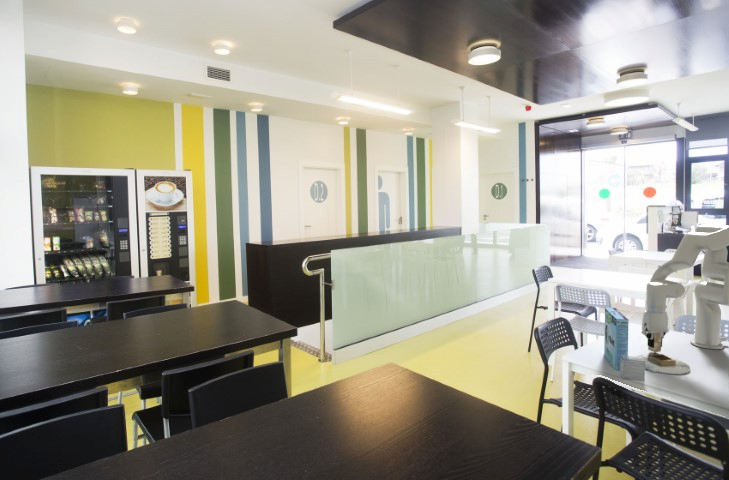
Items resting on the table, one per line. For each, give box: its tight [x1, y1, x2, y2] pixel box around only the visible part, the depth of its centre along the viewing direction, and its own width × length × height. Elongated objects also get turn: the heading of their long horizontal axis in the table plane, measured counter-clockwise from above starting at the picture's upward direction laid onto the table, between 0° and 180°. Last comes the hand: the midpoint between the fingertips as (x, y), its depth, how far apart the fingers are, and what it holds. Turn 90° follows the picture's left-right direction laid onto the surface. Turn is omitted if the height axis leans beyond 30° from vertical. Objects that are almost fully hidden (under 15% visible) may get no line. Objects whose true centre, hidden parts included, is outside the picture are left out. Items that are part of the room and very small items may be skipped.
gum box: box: [603, 307, 629, 371], centre depth 186 cm, size 20×5×23 cm, turn 162°
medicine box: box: [619, 355, 646, 382], centre depth 171 cm, size 8×4×9 cm, turn 71°
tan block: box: [647, 332, 662, 353], centre depth 196 cm, size 4×4×10 cm
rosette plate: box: [635, 353, 691, 376], centre depth 183 cm, size 20×20×4 cm
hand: (654, 345), depth 197 cm, fingers closed on tan block, 3 cm apart
